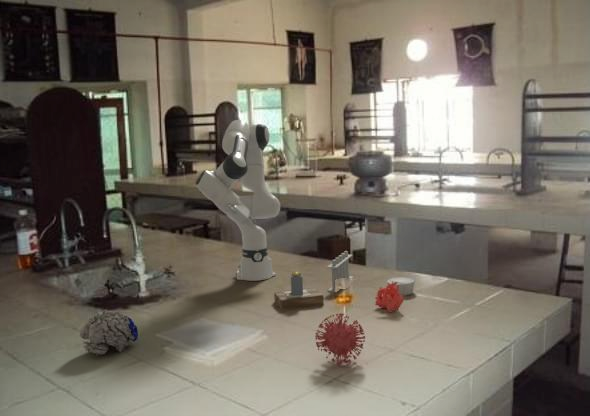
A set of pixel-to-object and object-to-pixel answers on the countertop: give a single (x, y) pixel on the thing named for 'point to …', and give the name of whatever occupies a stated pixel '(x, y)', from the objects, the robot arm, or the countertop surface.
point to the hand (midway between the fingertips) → (255, 225)
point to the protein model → (389, 297)
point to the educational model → (108, 332)
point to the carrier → (296, 285)
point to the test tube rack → (340, 268)
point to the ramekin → (403, 285)
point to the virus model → (340, 338)
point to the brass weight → (296, 274)
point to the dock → (298, 299)
